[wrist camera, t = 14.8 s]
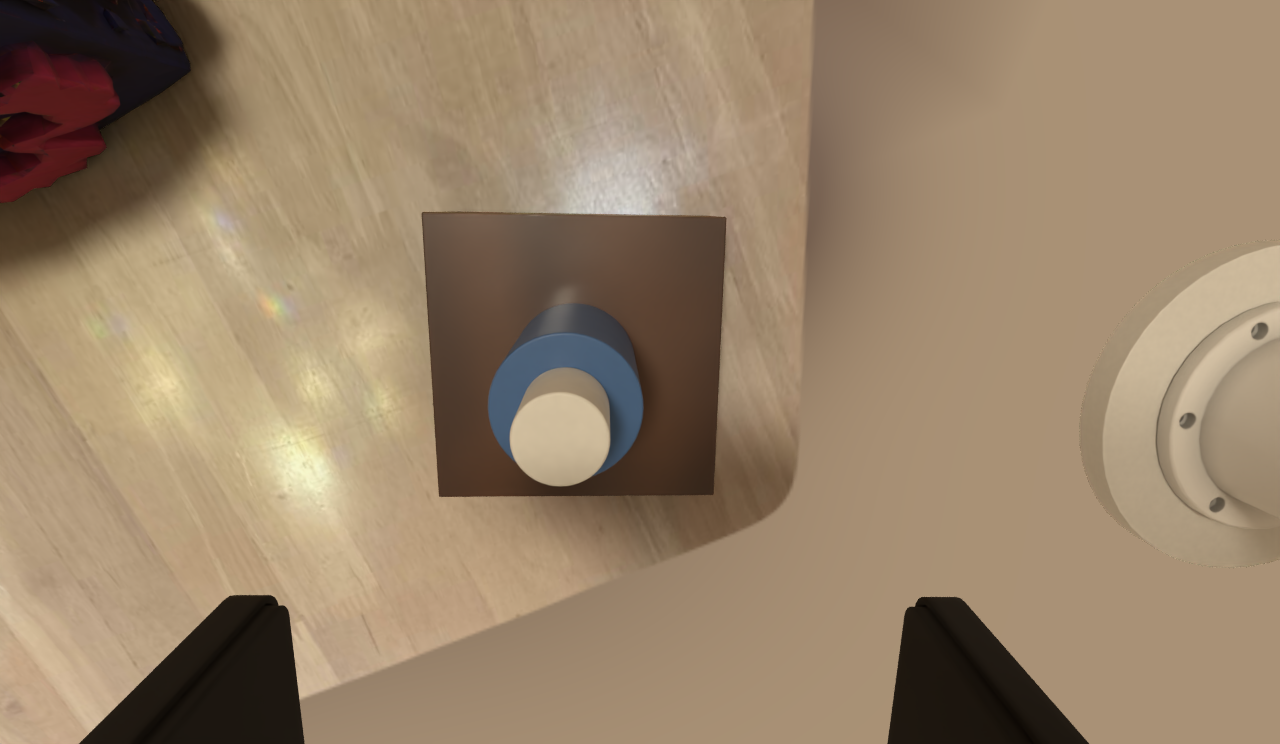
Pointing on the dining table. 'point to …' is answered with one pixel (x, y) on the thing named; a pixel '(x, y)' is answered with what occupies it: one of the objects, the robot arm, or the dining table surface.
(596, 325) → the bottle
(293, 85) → the dining table surface
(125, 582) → the dining table surface
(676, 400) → the block
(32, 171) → the decorative cube
